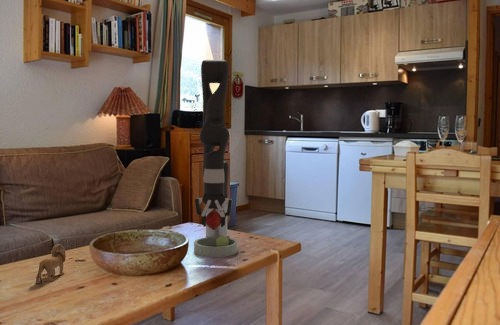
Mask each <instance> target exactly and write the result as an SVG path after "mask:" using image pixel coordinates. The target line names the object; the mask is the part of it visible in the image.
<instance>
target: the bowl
mask: <svg viewBox="0 0 500 325" xmlns="http://www.w3.org/2000/svg"><path fill="white" fill-rule="evenodd" d="M217 238H218V237H207V236H205V237H200V238H197V239H195V241H194V242H193V252H194V254H196V255H198V256H201V257H206V258H225V257H226V258H227V257H230V256H234V255H236V254H237V253H238V250H239V249H238V248H239V247H238V246H239V244H238V242H239V241H238V240H236V239H235V238H232V237H227V238H228V240H229V245H228V246H221V247H217V246H216V240H217Z"/></svg>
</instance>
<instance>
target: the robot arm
mask: <svg viewBox="0 0 500 325" xmlns="http://www.w3.org/2000/svg"><path fill="white" fill-rule="evenodd" d="M200 74H201V75H200V76H201V91H202V127H201V130H200V133H199V140H200V143H201V144H202V145H203V158H202V159H203V161H202V163H203V164H202V177H203V196H202V197H196V198H195V199H194V203H195V210H196V211H195V212H196V215H197V216H198V215H199V216H201V225H202V226H203V227H204V228H205V237H220V236H225V237H226V238H228V216H230V215H231V213H232V206H233V199H232V198H229V196H228V194H229V192H228V191H229V190H228V187H229V184H228V183H229V170H230V169H229V163H228V161H226V160H225V153H226V148H227V145H228V142H229V139H230V131H229V129H228V128H227V127H226V116H225V111H226V110H225V106H226V105H225V104H226V99H227V98H226V97H227V92H228V87H229V86H228V85H229V79H230V78H229V77H230V69H229V63H228V61H227V60H226V59H203V60H202V62H201V66H200ZM210 84H219V85H218V87H217V88H216V90H215V91H214V92H212V89H211V85H210ZM216 147H218V149H216V150H215V148H216ZM214 150H215V151H214ZM202 202H203V203H204V205H205V207H204V208H203V211H202V208H201V204H202ZM213 209H216V212H218V213H219V214H220V216H221V224H220V226H219V227H217V228H216V229H215V230H212V229H211V228H209V227H208V226H207V224H206V217H207V215H208V214H209V213H210V212H211V211H212V210H213Z"/></svg>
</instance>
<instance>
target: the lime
mask: <svg viewBox="0 0 500 325" xmlns="http://www.w3.org/2000/svg"><path fill="white" fill-rule="evenodd" d="M228 238H229V237H225V236H220V237H218V238H217V240H216V246H217V247H221V246H228V245H229V240H228Z"/></svg>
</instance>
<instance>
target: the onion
mask: <svg viewBox="0 0 500 325" xmlns="http://www.w3.org/2000/svg"><path fill="white" fill-rule="evenodd" d="M206 224H207V226H208V227H209V228H211V229H212V230H215V229H216V228H217V227H219V226H220V224H221V216H220V214H219V213H218V212H216V209H213V210H212V211H211V212H210V213H209V214H208V215H207V217H206Z"/></svg>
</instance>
